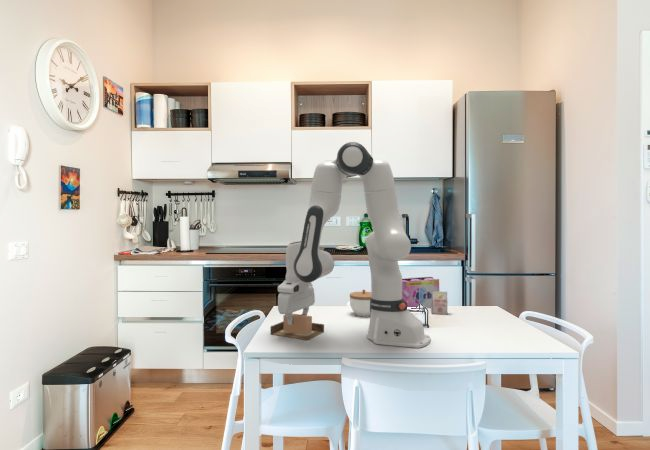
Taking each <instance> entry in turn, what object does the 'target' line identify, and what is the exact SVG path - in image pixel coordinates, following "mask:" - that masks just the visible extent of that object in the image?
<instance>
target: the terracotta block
mask: <svg viewBox="0 0 650 450" xmlns="http://www.w3.org/2000/svg"><path fill="white" fill-rule="evenodd" d="M282 315H283V317H282V318H283V321H282V322H283V331H285V332H291V333H297V334H303V335H307V334H309V333H311V332H312V323H313V316H311V315H307V316H306V315H301V314H299V313H298V314H297V313H292V319H294V323H293V324H292V325H288V323H287V318H286V316H285V314H282Z"/></svg>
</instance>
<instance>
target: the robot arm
mask: <svg viewBox="0 0 650 450" xmlns="http://www.w3.org/2000/svg"><path fill="white" fill-rule="evenodd" d="M392 171H393V170H392V168H391V166H390V163H388V162H387V161H386V160H383V159H374V158H373V156H372V154H370V153H369V151H368V150H367V148H366V147H365V146H364V145H363V144H361V143H359V142H357V141H356V142H355V141H349V142H346V143H345V144H343V145H342V146H340V148H339V149H338V151H337V154H336V158H335V160H333V161H323V162H320V163H318V164H317V165H316V167H315V169H314V173H313V176H312V182H311V187H310V197H309V203H308V209H307V212H306V215H305V216H306V217H305V220H304V224H303V230H302V236H301V240H299V241H294V242H291V243H289V244H288V245H287V246H286V252H285V267H286V273H285V280H283V282H282V283H280V284H279V285H278V286H277V292H278V296H277V311H278V313H279V314H280V315H285V316H286V318H287V323H288V325H292V324H293V323H294V319H292V314H293V313H295V312H298V311H301V310H302V313H301V314H300V315H306V316H308V313H309V310H310V307H311V306H314V305H315V303H316V302H315V301H316V298H315V297H316V296H315V289H314V287H313V284H312V283H313V282H315V281H316V280H318V279H320V278H323V277H325V276H328V275H329V274H331V273H332V272H333V269H334V267H335V260H334V257H333V256H332V254H331V253H330V252H328V251H327V250H322V249H320V243H321V238H322V232H323V229H324V227H325V225H326V223H328V221H329V220H331V218H332V217H334V216H335V215H336V214H337V213H338V211H339V209H340V205H341V199H342V192H343V191H342V190H343V184H344V180H345V179H348V178H353V177H356V176H359V178H360V179H361V181H362V183H363V191H364V198H365V199H364V200H365V205H366V213H367V217H368V219H369V221H370V223H371V227H372V229H373V231H371V232H370V233H369V234H368V235H367V237H366V238H365V247H366V250H367V255H368V258H367V259H368V264H369V268H370V269H369V270H370V280H371V281H370V282H371V284H370V285H371V286H370V287H371V289H370V292H371V298H370V313H371V316H369V317H370V318H369V323H368V324H369V325H368V330H367V334H366V338H367V339H369V340H370V341H372V342H373V344H375V345H383V346H384V345H386V346H393V347H394V346H395V347H404V348H415V349H420V348H423V347H426V346H427V345H429V344H431V340H432V339H431V335H430V334H425V328H424V324H423V322H422V320H420V319H419V318H418V317H417V316H416V315H414V314H413V313H412V312H411V311H410V310H409V309H408V310H407V307H408V301H407V302H406V301H405V300H404V299H403V298H402V279H403V276H402V273H401V271H400V266H399V261H401V260H402V261H403V260H404V259H406V258H407V257H408V256H409V254H410V252H411V249H412V243H411V239H409V237H408V235H407V233H406V231H405V228H404V225H403V221H402V218H401V214H400V212H399V211H400V210H399V206H398V198H397V192H396V184H395V183H396V182H395V179H394V175H393V172H392Z"/></svg>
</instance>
